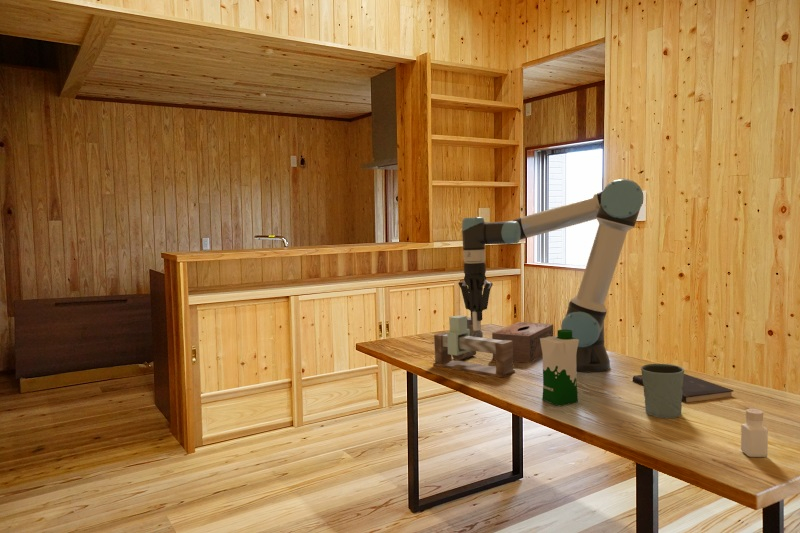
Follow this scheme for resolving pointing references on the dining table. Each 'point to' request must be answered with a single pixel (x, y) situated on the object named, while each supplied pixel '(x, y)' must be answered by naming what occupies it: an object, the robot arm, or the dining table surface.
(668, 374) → the grey green cup
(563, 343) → the milk carton
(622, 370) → the dining table surface
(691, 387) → the hardcover book
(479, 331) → the pipe fitting
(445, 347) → the rail
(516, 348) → the tissue box cover
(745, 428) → the salt shaker
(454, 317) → the pale green slider block
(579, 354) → the robot arm
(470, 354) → the pipe
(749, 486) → the dining table surface
